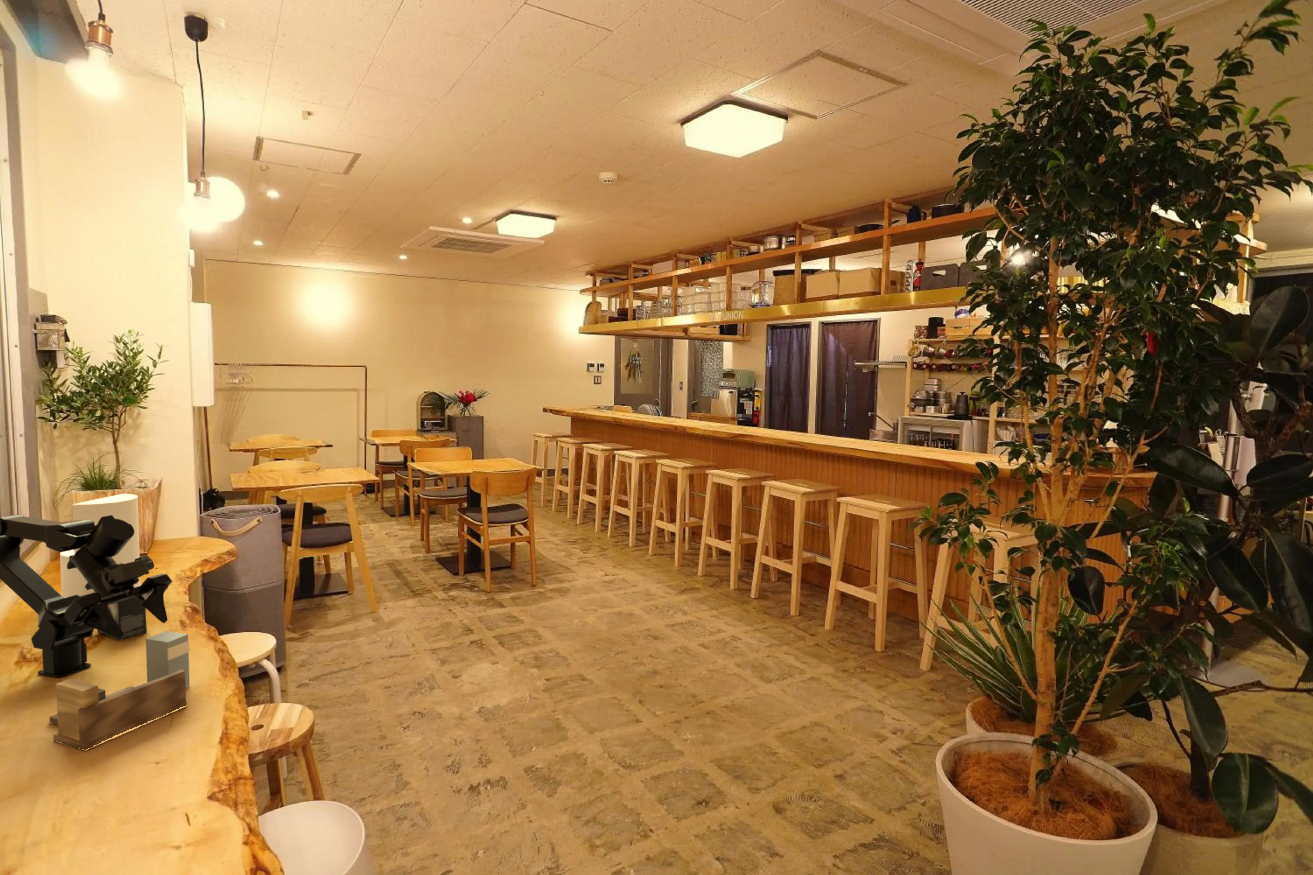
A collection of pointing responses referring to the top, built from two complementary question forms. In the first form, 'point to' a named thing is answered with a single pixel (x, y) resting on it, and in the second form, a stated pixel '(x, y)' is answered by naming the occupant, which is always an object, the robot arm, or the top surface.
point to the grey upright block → (167, 655)
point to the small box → (129, 617)
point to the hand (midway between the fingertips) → (144, 629)
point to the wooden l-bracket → (112, 708)
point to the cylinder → (94, 510)
